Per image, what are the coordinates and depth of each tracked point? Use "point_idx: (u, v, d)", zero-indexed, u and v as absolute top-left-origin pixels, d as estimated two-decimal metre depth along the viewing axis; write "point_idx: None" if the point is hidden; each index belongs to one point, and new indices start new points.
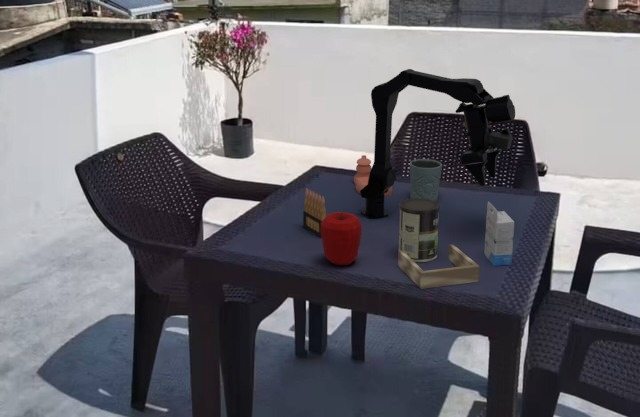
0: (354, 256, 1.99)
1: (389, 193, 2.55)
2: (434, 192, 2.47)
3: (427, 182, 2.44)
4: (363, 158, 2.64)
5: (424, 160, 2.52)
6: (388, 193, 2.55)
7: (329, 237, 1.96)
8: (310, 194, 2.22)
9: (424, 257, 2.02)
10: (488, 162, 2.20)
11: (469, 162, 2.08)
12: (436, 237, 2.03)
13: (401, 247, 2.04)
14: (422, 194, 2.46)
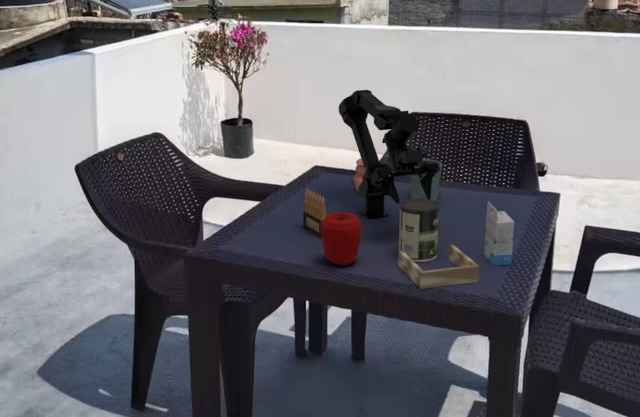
0: (354, 256, 1.99)
1: None
2: (434, 192, 2.47)
3: None
4: None
5: (424, 160, 2.52)
6: None
7: (329, 237, 1.96)
8: (310, 194, 2.22)
9: (424, 257, 2.02)
10: (424, 186, 2.15)
11: (374, 180, 2.11)
12: (436, 237, 2.03)
13: (401, 247, 2.04)
14: (422, 194, 2.46)
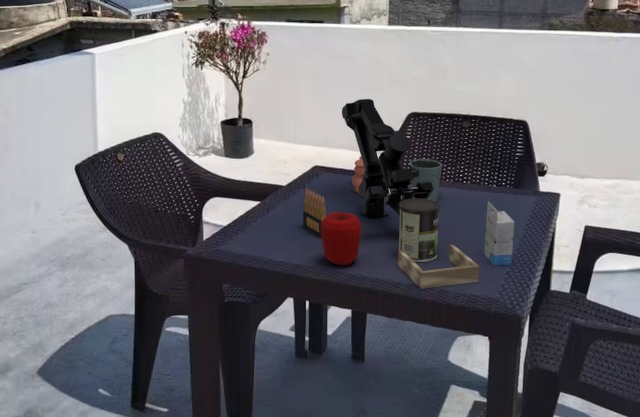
0: (354, 256, 1.99)
1: None
2: (434, 192, 2.47)
3: None
4: (361, 159, 2.63)
5: (424, 160, 2.52)
6: None
7: (329, 237, 1.96)
8: (310, 194, 2.22)
9: (424, 257, 2.02)
10: None
11: (366, 199, 2.14)
12: (436, 237, 2.03)
13: (401, 247, 2.04)
14: None
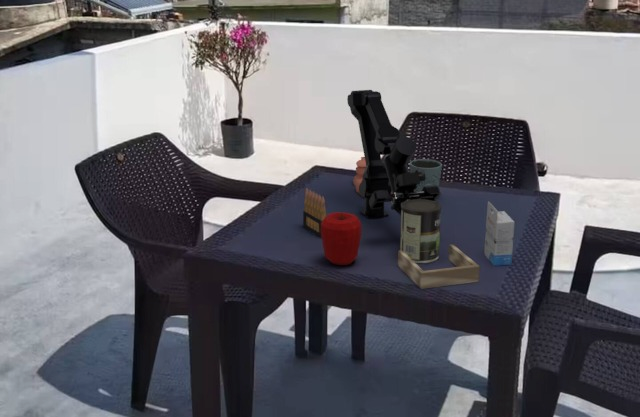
0: (354, 256, 1.99)
1: None
2: None
3: (427, 182, 2.44)
4: (363, 160, 2.62)
5: (424, 160, 2.52)
6: None
7: (329, 237, 1.96)
8: (310, 194, 2.22)
9: (425, 258, 2.01)
10: None
11: (371, 203, 2.10)
12: (438, 238, 2.02)
13: (402, 248, 2.03)
14: None
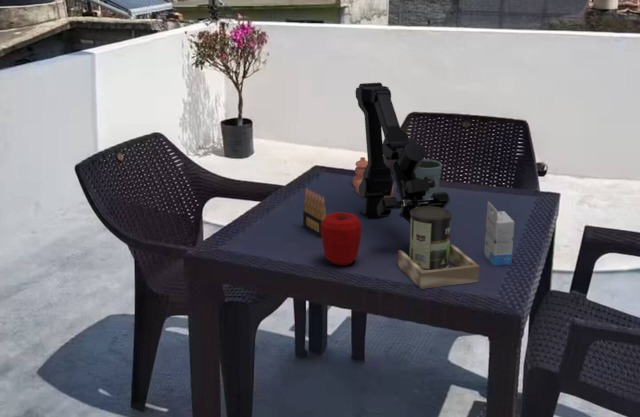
0: (354, 256, 1.99)
1: None
2: (434, 192, 2.47)
3: None
4: (362, 160, 2.62)
5: (424, 160, 2.52)
6: None
7: (329, 237, 1.96)
8: (310, 194, 2.22)
9: (436, 267, 1.95)
10: None
11: (379, 211, 2.04)
12: (448, 246, 1.96)
13: (412, 257, 1.98)
14: None
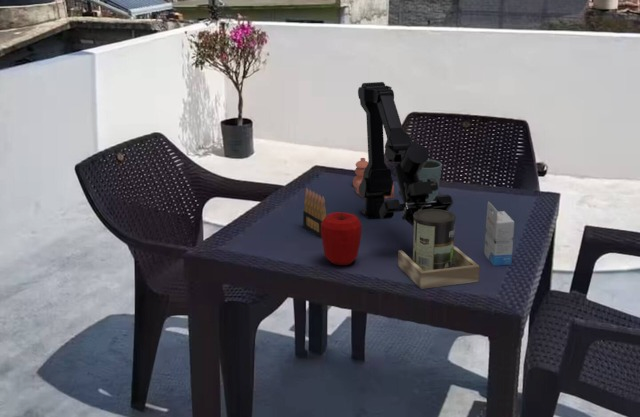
0: (354, 256, 1.99)
1: (391, 196, 2.53)
2: (434, 192, 2.47)
3: None
4: (362, 161, 2.61)
5: None
6: (390, 196, 2.52)
7: (329, 237, 1.96)
8: (310, 194, 2.22)
9: None
10: None
11: (382, 213, 2.02)
12: (452, 249, 1.94)
13: (415, 260, 1.96)
14: None
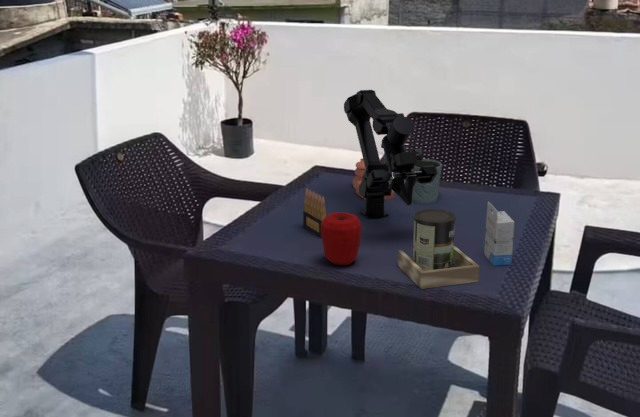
0: (354, 256, 1.99)
1: (391, 196, 2.52)
2: (434, 192, 2.47)
3: None
4: (362, 161, 2.61)
5: (424, 160, 2.52)
6: (390, 196, 2.52)
7: (329, 237, 1.96)
8: (310, 194, 2.22)
9: None
10: (406, 191, 2.11)
11: (369, 183, 2.10)
12: (452, 249, 1.94)
13: (415, 260, 1.96)
14: (422, 194, 2.46)
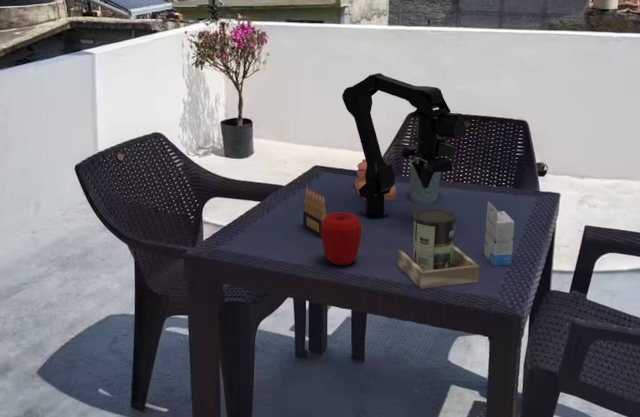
0: (354, 256, 1.99)
1: (392, 197, 2.51)
2: (434, 192, 2.47)
3: None
4: (364, 162, 2.60)
5: None
6: (391, 197, 2.51)
7: (329, 237, 1.96)
8: (310, 194, 2.22)
9: None
10: None
11: (441, 170, 2.11)
12: (452, 249, 1.94)
13: (415, 260, 1.96)
14: (422, 194, 2.46)
